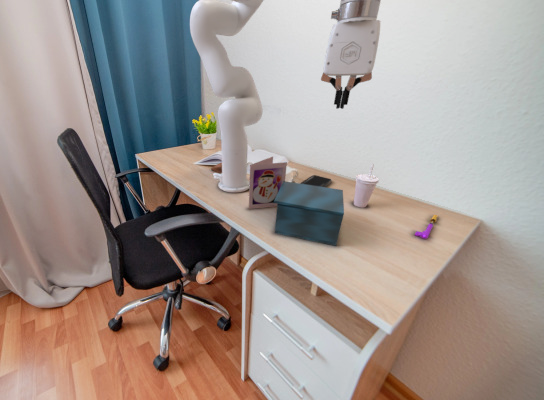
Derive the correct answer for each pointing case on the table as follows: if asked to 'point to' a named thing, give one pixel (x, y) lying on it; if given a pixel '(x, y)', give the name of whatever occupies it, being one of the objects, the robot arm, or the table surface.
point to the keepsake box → (308, 224)
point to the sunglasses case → (217, 168)
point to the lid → (311, 197)
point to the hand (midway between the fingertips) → (339, 107)
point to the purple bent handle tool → (427, 229)
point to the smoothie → (364, 188)
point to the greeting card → (265, 182)
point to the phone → (317, 181)
